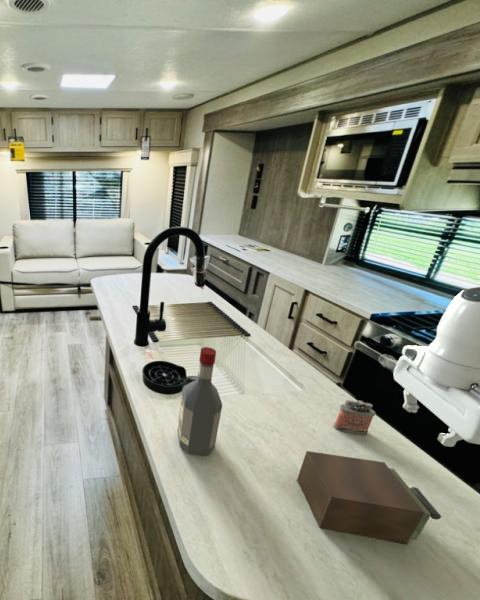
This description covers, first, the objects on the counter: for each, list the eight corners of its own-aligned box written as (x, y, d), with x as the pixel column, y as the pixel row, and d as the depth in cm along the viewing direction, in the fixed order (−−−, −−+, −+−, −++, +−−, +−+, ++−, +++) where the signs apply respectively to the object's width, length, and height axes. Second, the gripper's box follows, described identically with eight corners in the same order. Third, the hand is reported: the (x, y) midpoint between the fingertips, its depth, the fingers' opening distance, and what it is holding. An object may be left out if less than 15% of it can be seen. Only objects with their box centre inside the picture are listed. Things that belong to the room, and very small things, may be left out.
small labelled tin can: (363, 427, 92) (374, 400, 88) (369, 436, 89) (381, 408, 85) (331, 422, 94) (340, 395, 90) (336, 431, 91) (346, 403, 87)
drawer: (402, 496, 71) (415, 471, 68) (440, 545, 62) (457, 519, 59) (311, 481, 75) (320, 457, 72) (334, 525, 66) (344, 499, 63)
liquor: (208, 432, 91) (223, 343, 80) (215, 458, 83) (233, 362, 72) (176, 428, 93) (186, 340, 82) (179, 453, 85) (192, 359, 74)
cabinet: (370, 492, 73) (384, 462, 70) (406, 544, 63) (425, 512, 59) (296, 480, 77) (306, 450, 73) (319, 528, 66) (331, 496, 63)
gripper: (535, 409, 49) (493, 471, 54) (432, 345, 68) (408, 396, 73) (485, 403, 51) (449, 465, 56) (398, 342, 69) (376, 393, 74)
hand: (425, 425), depth 65 cm, fingers open, 8 cm apart
